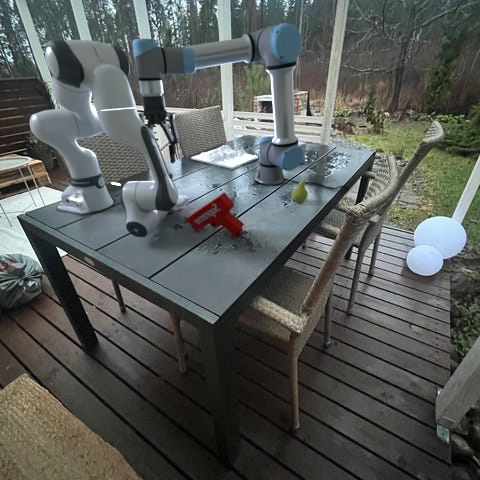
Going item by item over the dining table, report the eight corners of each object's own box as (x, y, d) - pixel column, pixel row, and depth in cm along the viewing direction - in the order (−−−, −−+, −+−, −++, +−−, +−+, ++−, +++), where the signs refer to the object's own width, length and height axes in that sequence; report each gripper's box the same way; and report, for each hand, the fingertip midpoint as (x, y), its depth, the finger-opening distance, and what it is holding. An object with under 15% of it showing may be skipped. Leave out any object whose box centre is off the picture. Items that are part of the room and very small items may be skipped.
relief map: (233, 169, 161) (232, 160, 158) (191, 159, 178) (190, 151, 176) (258, 158, 179) (258, 150, 176) (218, 150, 197) (217, 142, 194)
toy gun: (250, 225, 97) (225, 191, 93) (246, 231, 93) (220, 196, 89) (215, 244, 107) (191, 214, 103) (210, 250, 103) (185, 219, 99)
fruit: (288, 200, 123) (290, 174, 116) (302, 197, 125) (305, 172, 119) (296, 206, 118) (299, 179, 111) (310, 203, 120) (314, 177, 114)
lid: (156, 179, 108) (155, 174, 106) (165, 175, 111) (164, 170, 110) (166, 181, 105) (165, 176, 104) (175, 177, 109) (174, 172, 108)
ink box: (298, 160, 174) (300, 141, 168) (304, 162, 171) (307, 142, 165) (290, 163, 169) (292, 143, 163) (296, 165, 166) (299, 145, 160)
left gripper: (181, 202, 98) (192, 188, 110) (128, 199, 101) (145, 186, 113) (183, 218, 102) (194, 202, 113) (132, 214, 105) (148, 199, 116)
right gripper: (184, 94, 94) (191, 160, 107) (130, 93, 97) (143, 158, 109) (177, 96, 88) (185, 166, 100) (119, 95, 91) (134, 163, 103)
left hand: (169, 194), depth 113 cm, fingers closed on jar, 4 cm apart
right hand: (163, 161), depth 105 cm, fingers open, 7 cm apart
